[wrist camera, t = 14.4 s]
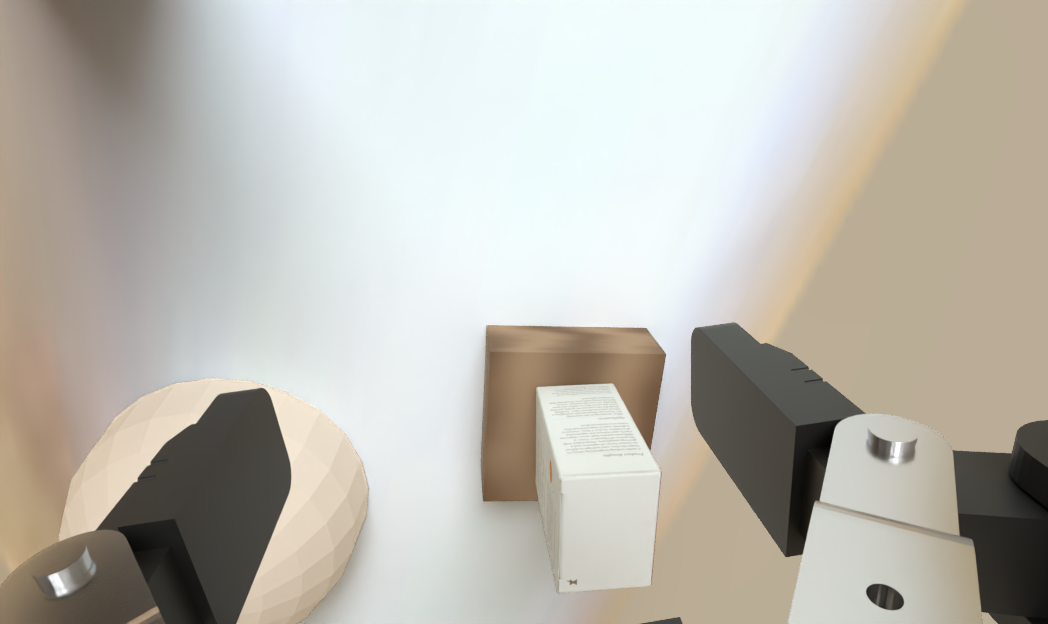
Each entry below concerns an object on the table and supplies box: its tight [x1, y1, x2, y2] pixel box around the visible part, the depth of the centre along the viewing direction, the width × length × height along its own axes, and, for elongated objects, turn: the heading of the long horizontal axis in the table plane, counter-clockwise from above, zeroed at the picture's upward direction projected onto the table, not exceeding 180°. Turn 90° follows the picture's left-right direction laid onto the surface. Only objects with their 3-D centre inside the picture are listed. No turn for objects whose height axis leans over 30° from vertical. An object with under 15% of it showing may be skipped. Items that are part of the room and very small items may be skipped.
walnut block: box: [481, 325, 666, 501], centre depth 44 cm, size 12×12×5 cm
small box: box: [535, 383, 662, 593], centre depth 37 cm, size 8×6×10 cm
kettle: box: [59, 378, 368, 624], centre depth 38 cm, size 20×21×18 cm
